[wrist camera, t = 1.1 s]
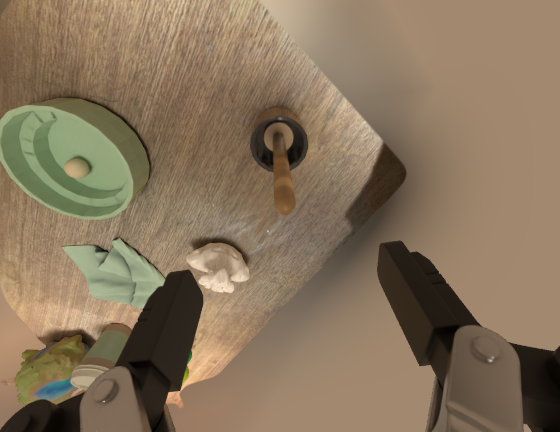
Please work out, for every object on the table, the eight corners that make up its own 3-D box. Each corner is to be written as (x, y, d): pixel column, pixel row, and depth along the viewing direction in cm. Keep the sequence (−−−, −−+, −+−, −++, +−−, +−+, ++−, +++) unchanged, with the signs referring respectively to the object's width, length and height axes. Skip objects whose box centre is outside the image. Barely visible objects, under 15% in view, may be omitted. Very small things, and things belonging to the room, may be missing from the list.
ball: (80, 151, 34) (66, 159, 32) (98, 167, 36) (86, 175, 33) (68, 162, 35) (54, 169, 33) (86, 176, 36) (73, 185, 34)
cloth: (163, 315, 58) (159, 324, 56) (58, 287, 51) (50, 297, 49) (189, 260, 48) (186, 270, 46) (64, 218, 41) (54, 227, 39)
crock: (285, 95, 32) (288, 103, 27) (311, 139, 35) (317, 154, 30) (243, 125, 34) (239, 138, 29) (271, 164, 37) (271, 182, 32)
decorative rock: (49, 428, 55) (52, 401, 48) (-12, 393, 54) (-18, 361, 48) (103, 369, 67) (111, 341, 60) (53, 340, 67) (55, 309, 60)
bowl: (79, 70, 29) (40, 74, 24) (173, 167, 37) (157, 185, 32) (13, 139, 34) (-31, 153, 29) (109, 213, 41) (87, 235, 36)
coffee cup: (94, 329, 60) (59, 383, 50) (112, 315, 57) (79, 370, 47) (125, 342, 64) (98, 395, 54) (144, 330, 61) (120, 384, 51)
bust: (252, 252, 50) (267, 262, 39) (239, 287, 49) (250, 306, 39) (196, 232, 47) (195, 236, 36) (180, 269, 46) (174, 284, 35)
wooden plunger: (282, 113, 32) (295, 175, 16) (297, 138, 34) (322, 216, 18) (258, 129, 33) (246, 203, 17) (274, 153, 35) (277, 239, 19)
